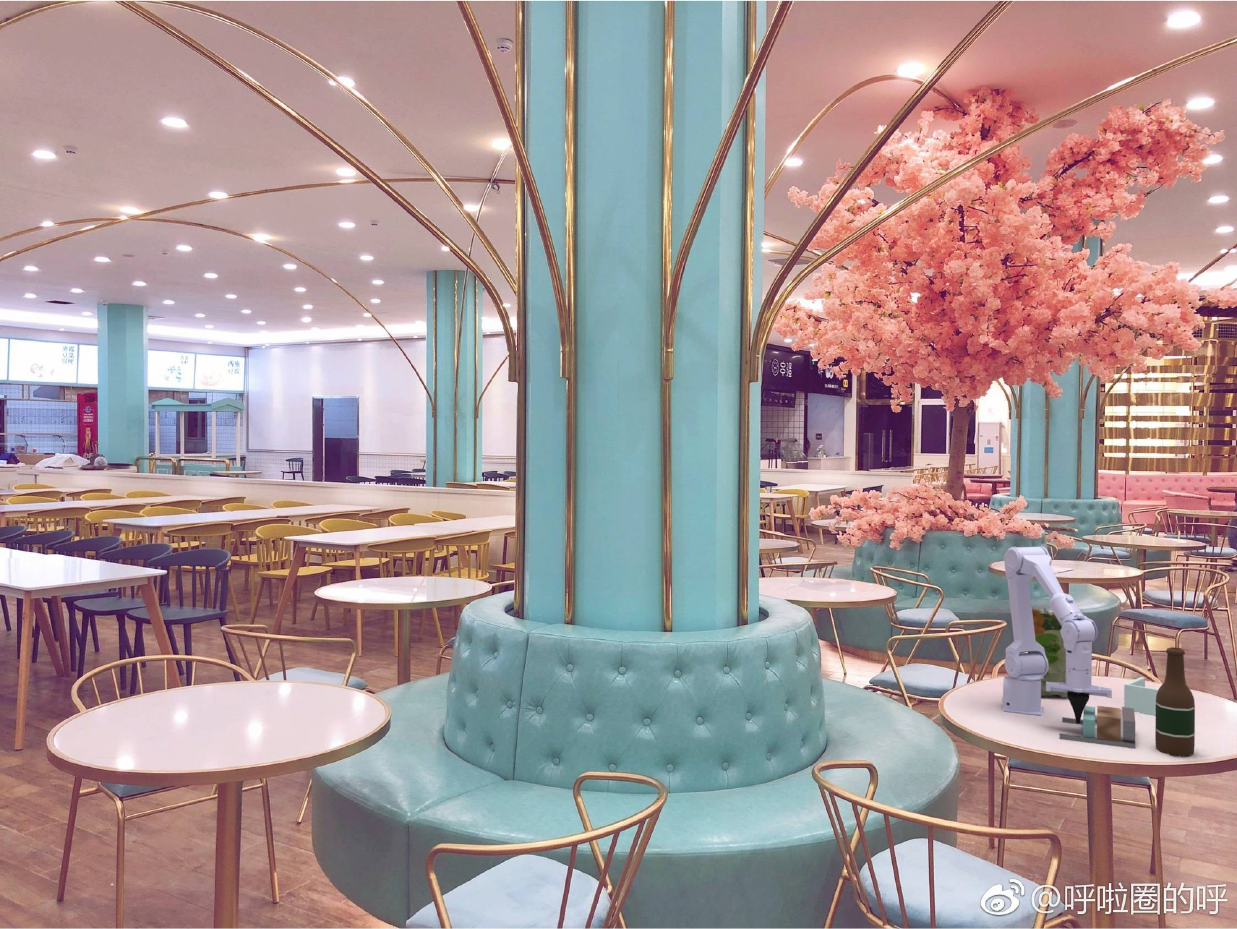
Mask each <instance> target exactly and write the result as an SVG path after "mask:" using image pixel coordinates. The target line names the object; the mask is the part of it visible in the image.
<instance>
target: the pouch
mask: <svg viewBox="0 0 1237 929" xmlns="http://www.w3.org/2000/svg"><path fill="white" fill-rule="evenodd" d="M1032 614H1033V623H1034V632H1035V641H1036V642H1037V643H1039V644H1040V645H1041V646H1042V647H1044V651H1045V655H1046V658H1047V660H1048V664H1049V667H1048V671H1047V673H1046V674H1045V675H1044V678H1043V679H1041V697H1059V698H1060V697H1061V698H1067V699H1068V697H1067V692H1058V691H1046V682H1062V683H1066V649H1065V648H1064V641H1063V639H1062V636H1061V632H1060V629H1062V626H1061V624H1060V623H1059V621H1058V619H1057V617H1056V616H1055V614H1054V612H1053V611H1049V610H1046V608H1045V607H1044V608H1043V610H1041V609H1039V608H1037V609H1035V608H1034V607H1032ZM1027 653H1031V652H1030V651H1027Z"/></svg>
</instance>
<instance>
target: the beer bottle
mask: <svg viewBox="0 0 1237 929" xmlns="http://www.w3.org/2000/svg"><path fill="white" fill-rule="evenodd" d="M1165 653H1166V654H1167V656H1166V665H1165V666H1166V668H1165V669H1166V670H1165V677H1164V682H1163V683H1162V684H1161V685H1160V687H1159V688H1158V689H1159V690H1158V692H1157V694H1156V716H1155V726H1154V727H1155V737H1154V738H1155V739H1154V740H1155V749H1156V750H1158V751H1159V752H1161V753H1162V754H1166V755H1167V754H1168V755H1169V756H1172V757H1181V758H1182V757H1185V758H1187V757H1191V756H1193V755H1194V754H1195V748H1196V747H1195V744H1196V743H1195V740H1196V738H1195V735H1196V734H1195V733H1196V728H1195V726H1196V724H1195V723H1196V720H1195V719H1196V711H1195V710H1196V704H1195V698H1194V694H1193V692H1192V690H1190V687H1189V686H1188V684H1187V681H1186V676H1185V675H1186V673H1185V672H1186V671H1185V661H1184V660H1185V659H1184V655H1186V651H1185V650H1184V649H1183V648H1180V647H1173V646H1172V647H1171V646H1170V647H1168V648H1166V651H1165Z"/></svg>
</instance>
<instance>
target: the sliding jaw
mask: <svg viewBox="0 0 1237 929" xmlns="http://www.w3.org/2000/svg"><path fill="white" fill-rule="evenodd" d="M1082 720H1083V725H1082V736H1084V737H1092V738H1097V714H1096V706H1087V705H1086V706H1085V708H1084V710H1083V713H1082Z"/></svg>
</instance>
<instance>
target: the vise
mask: <svg viewBox="0 0 1237 929" xmlns="http://www.w3.org/2000/svg"><path fill="white" fill-rule="evenodd" d="M1120 714H1121V741H1115V740H1107V739H1099V738H1092V737H1084V736H1083V735H1075V734H1066V733H1059V739H1060V740H1066V741H1072V742H1081V743H1088V744H1097V745H1103V746H1111V747H1112V746H1113V747H1119V748H1120V747H1121V748H1126V749H1127V748H1128V749H1133V750H1135V749H1136V716H1135V715H1136V714H1135V712H1134V708H1127V707H1124V706H1122V707H1121V708H1120ZM1061 722H1062V723H1064V724H1065V723H1066V724H1075V725H1077V724H1076V718H1073V717H1072V718H1071V717H1064V716H1062V717H1061ZM1079 725H1082V726H1083V718H1081V720H1080V724H1079Z"/></svg>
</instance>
